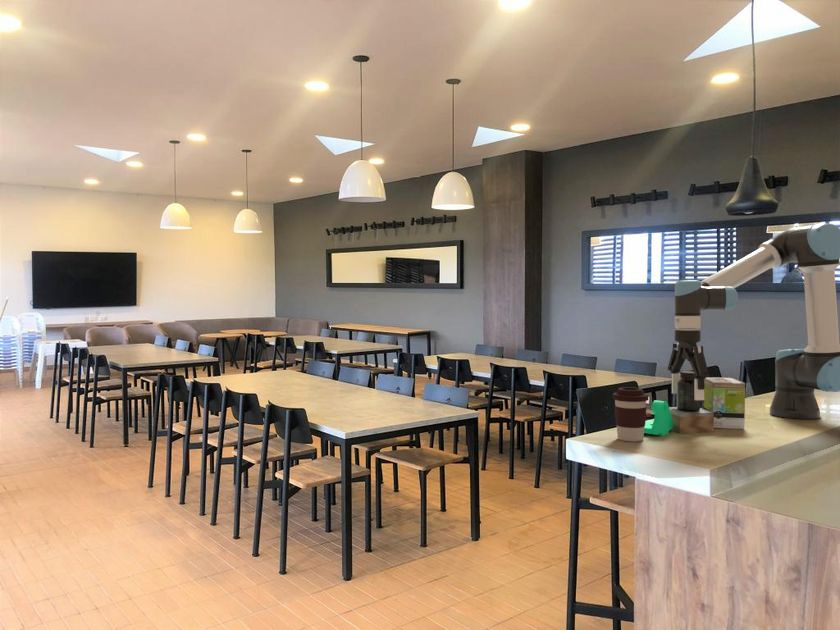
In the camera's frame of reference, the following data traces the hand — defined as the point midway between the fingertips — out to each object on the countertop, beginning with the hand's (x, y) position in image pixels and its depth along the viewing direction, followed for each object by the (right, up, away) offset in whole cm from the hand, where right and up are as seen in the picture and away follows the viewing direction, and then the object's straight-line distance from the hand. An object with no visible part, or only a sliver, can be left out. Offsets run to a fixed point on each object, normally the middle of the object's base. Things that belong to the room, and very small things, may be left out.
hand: (687, 396), depth 204 cm
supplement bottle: (0, -4, 0) cm, 4 cm away
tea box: (+14, -10, +7) cm, 19 cm away
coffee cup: (-22, -11, -13) cm, 28 cm away
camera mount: (-12, -11, -4) cm, 17 cm away
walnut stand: (0, -10, 0) cm, 10 cm away
